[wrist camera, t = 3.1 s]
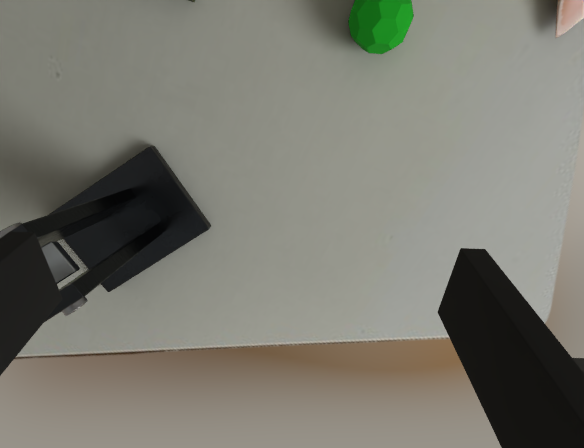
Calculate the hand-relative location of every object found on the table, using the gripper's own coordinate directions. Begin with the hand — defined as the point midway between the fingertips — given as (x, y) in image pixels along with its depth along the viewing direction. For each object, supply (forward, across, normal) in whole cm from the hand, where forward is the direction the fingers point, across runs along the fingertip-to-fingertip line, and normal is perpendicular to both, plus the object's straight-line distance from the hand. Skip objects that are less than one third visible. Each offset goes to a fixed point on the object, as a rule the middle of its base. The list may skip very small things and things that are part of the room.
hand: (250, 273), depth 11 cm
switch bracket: (+20, -14, -10) cm, 26 cm away
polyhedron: (+26, +8, +6) cm, 28 cm away
